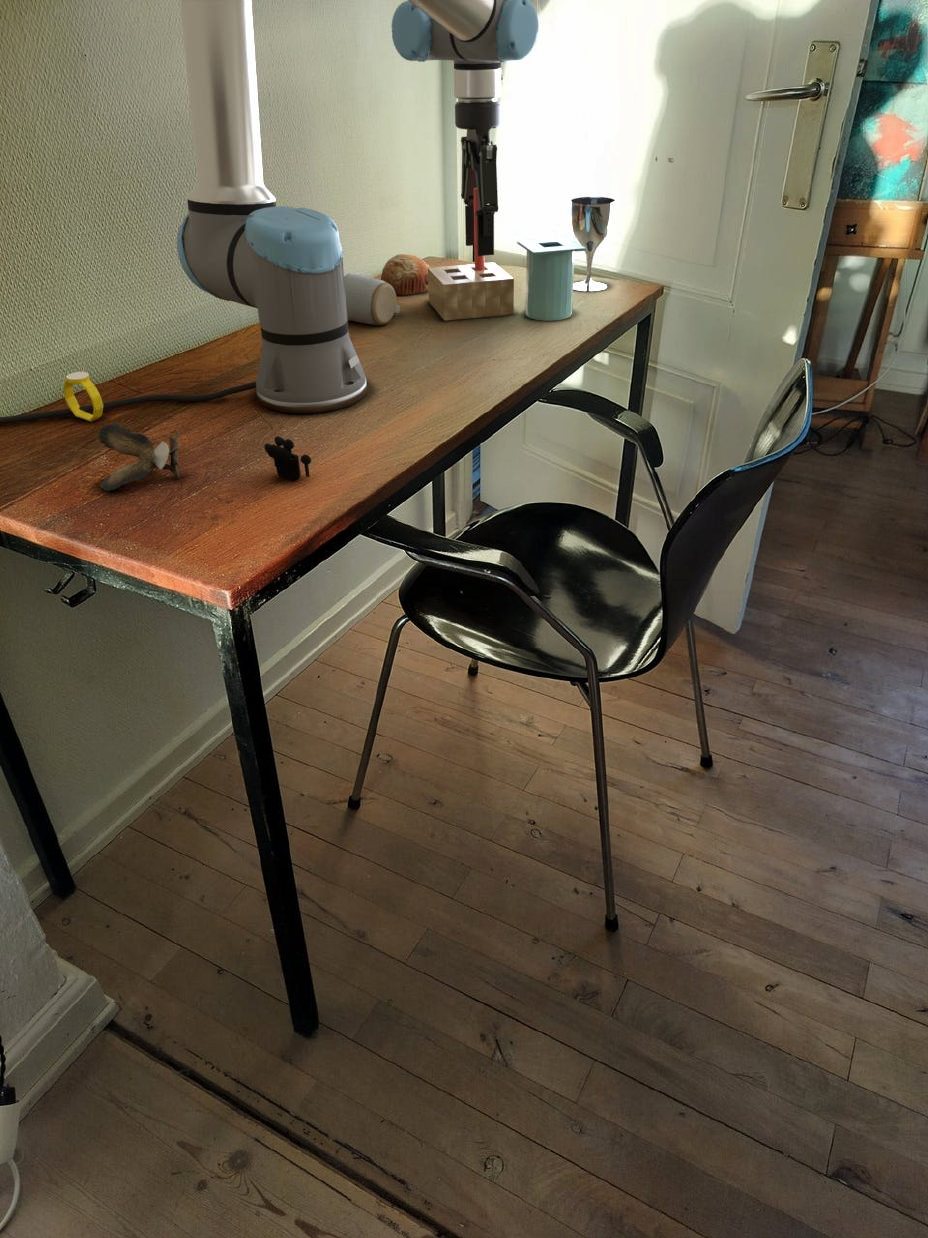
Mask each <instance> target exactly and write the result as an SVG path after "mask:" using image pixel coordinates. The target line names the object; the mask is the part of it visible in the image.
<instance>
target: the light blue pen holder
mask: <svg viewBox="0 0 928 1238" xmlns="http://www.w3.org/2000/svg"><path fill="white" fill-rule="evenodd" d="M541 246H543V247H544V248H545V247H557V246H559V245H558V244H552V245H541ZM575 256H576V251H575V252H563V253H551V254H539V255H533V254H532V253H530V252H529V251H527V250H526V267H525V269H526V271H525V316H526V317H527V318H529V319H532V320H536V321H547V322H548V321H550V322H551V321H552V322H553V321H561V320H565V319H568V318H570V317H571V316H572V314H573V300H574V299H573V297H574V290H573V283H574V279H575Z"/></svg>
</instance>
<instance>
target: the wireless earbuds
mask: <svg viewBox="0 0 928 1238" xmlns="http://www.w3.org/2000/svg"><path fill="white" fill-rule="evenodd" d="M274 443H275V444H271V443H268V442H267V443H265V444H264V451H265V453H266V454H267V455H268V456H269V457H270V458H272V459H273V463H274V467H275V470H276V474H277V476H278V477H280V478H282V479H285V480H288V481H292V482H297V481H299V480H300V479H301V476H302V474H301V466H300V462H301V464H303V465H304V473H305V478H309V477H310V476H311V475H310V468H309V465H311V463H312V458H311V457H310V456H309V455H308V454H302V455H301V457H300V459H299V455H298V454H295V453H293V451H292V450H293V449H294V448H295V443H294V441H292V439H289V438H287V439H284V438H283V437H281V436H278V435H277V436H275V437H274Z"/></svg>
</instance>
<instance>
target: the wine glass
mask: <svg viewBox="0 0 928 1238" xmlns="http://www.w3.org/2000/svg"><path fill="white" fill-rule="evenodd" d="M615 208H616V200H615V199H614V198H611V197H606V196H605V197H604V196H583V197H582V196H581V197H574V198H572V199H571V200H570V207H569V209H570V212H569V214H570V215H569V217H570V225H571V231H572V234H573V236H574V238H575V239H576V241H577V243H578V244H580V245H581V246H583V247H585V248H586V251H584V253H585V258H586V278H585V279H584V280H582V281H577V282H576V281H575V282H573V291H578V292H599V291H603V290H606V289H607V288H608V286H607V284H605V283H603V282H600V281H594V280H593V279H592V266H593V261H594V260H593V259H594V257H595V253H596V252H597V250H598V248H599V247H600V245H601V244H602V243H603V242H604V241H605V240H606V238H607V237H608V236H609V234H610V232H611V229H612V226H613V222H614V216H615Z"/></svg>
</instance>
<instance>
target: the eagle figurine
mask: <svg viewBox="0 0 928 1238" xmlns="http://www.w3.org/2000/svg"><path fill="white" fill-rule="evenodd" d="M97 434H98V435H97V439H98V440H99V443H101V444H103V445H104V447H105V448H107V449H110V450H113V451H116V452H118V453H120V454H121V455H126V456H132V457H136V458H138V459H137V460H135V461H133V462H131V463H128V464H125V465H123V466H121V467H119V468H117V469H116V470H114V472H112V474H111V475H109V476H108V477H107V478H105V479H104V481H101V482H100V484H99V488H100V489H103V490H104V491H107V492H108V491H113V490H116V489H119V488H120V487H121V486H124V485H126V484H127V483H130V482H134V481H135V482H137V481H141V480H143V479H144V478H147V477H148V476H149V474H150V471H151V470H152V469H159V470H160V471H162V470H164V471H165V470H166V471H167V470H168V471H169V472H171V473H172V474H173V476H174V477H175V478H177V479H180V476H181V475H180V473H179V468H178V467H179V465H180V462H179V449H180V430H179V428H177V429H176V430H175V433H174V436H173V437H172V436H171V435H170V436H168V442H169V445H168V444H167V443H166V442H165V441H163V440H162V441H161V442H160V443H159V444H158V445H157V446H156V447H155V448H154V443H153V440H152V439H150V438H149V437H148V436H147V435H145V434H144V433H143V432H135V431H132V430H130V429H128V428H126V427H125V426H122V424H120V423H117V422H114V423H113V422H112V423H108V424H104V425H101V428H99V430H98V432H97ZM169 456H170V462H169V464H167V463H168V461H169Z"/></svg>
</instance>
